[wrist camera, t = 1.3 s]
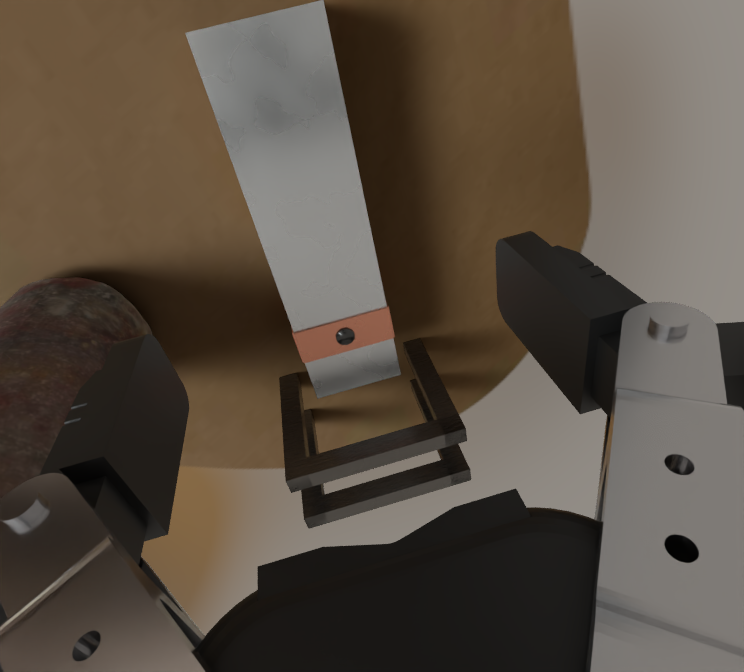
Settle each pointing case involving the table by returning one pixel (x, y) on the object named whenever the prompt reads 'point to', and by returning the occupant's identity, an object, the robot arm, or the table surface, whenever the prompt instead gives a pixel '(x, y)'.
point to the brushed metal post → (302, 187)
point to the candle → (52, 362)
